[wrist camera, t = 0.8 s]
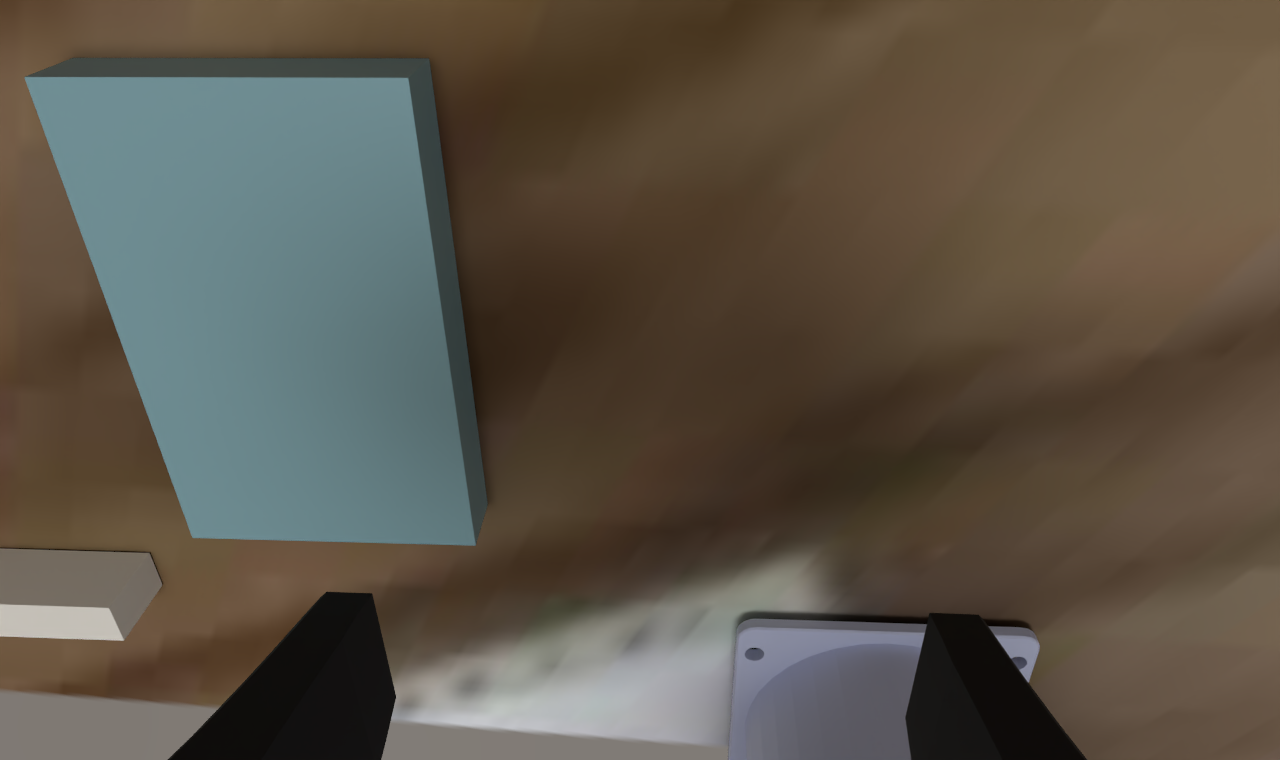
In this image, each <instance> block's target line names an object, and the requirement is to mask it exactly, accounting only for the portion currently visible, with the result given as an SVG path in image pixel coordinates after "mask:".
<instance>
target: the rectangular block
mask: <svg viewBox="0 0 1280 760" xmlns="http://www.w3.org/2000/svg"><path fill="white" fill-rule="evenodd" d="M25 80H26V83H27V86H28V88H29V91H30V94H31V97H32V99H33V102H34V105H35V108H36V110H37V113H38V116H39V119H40V121H41V124H42V127H43V129H44V132H45V135H46V138H47V140H48V143H49V146H50V149H51V151H52V154H53V157H54V160H55V162H56V165H57V168H58V171H59V173H60V176H61V179H62V182H63V184H64V187H65V190H66V192H67V195H68V198H69V201H70V203H71V206H72V209H73V212H74V214H75V217H76V220H77V223H78V225H79V228H80V231H81V234H82V236H83V239H84V242H85V245H86V247H87V250H88V253H89V255H90V258H91V261H92V264H93V266H94V269H95V272H96V275H97V277H98V280H99V283H100V286H101V288H102V291H103V294H104V297H105V299H106V302H107V305H108V308H109V310H110V313H111V316H112V318H113V321H114V324H115V327H116V329H117V332H118V335H119V338H120V340H121V343H122V346H123V349H124V351H125V354H126V357H127V360H128V362H129V365H130V368H131V371H132V373H133V376H134V379H135V381H136V384H137V387H138V390H139V392H140V395H141V398H142V401H143V403H144V406H145V409H146V412H147V414H148V417H149V420H150V423H151V425H152V428H153V431H154V434H155V436H156V439H157V442H158V445H159V447H160V450H161V453H162V455H163V458H164V461H165V464H166V466H167V469H168V472H169V475H170V477H171V480H172V483H173V486H174V488H175V491H176V494H177V497H178V499H179V502H180V505H181V508H182V510H183V513H184V516H185V518H186V521H187V524H188V527H189V529H190V532H191V535H192V538H217V539H254V540H291V541H327V542H364V543H401V544H437V545H474V546H476V542H477V539H478V536H479V532H480V529H481V526H482V522H483V519H484V515H485V512H486V509H487V505H488V502H487V495H486V487H485V480H484V472H483V464H482V457H481V449H480V441H479V434H478V426H477V419H476V411H475V403H474V396H473V388H472V381H471V373H470V365H469V358H468V350H467V342H466V335H465V327H464V320H463V312H462V304H461V297H460V289H459V282H458V274H457V266H456V259H455V251H454V244H453V236H452V228H451V221H450V213H449V205H448V198H447V190H446V183H445V175H444V167H443V160H442V152H441V145H440V137H439V129H438V122H437V114H436V106H435V99H434V91H433V84H432V76H431V68H430V61H429V58H72V59H69V60H66V61H64V62H61V63H59V64H56V65H54V66H51V67H49V68H46V69H44V70H41V71H39V72H36V73H33V74H31V75H28V76H26V77H25Z"/></svg>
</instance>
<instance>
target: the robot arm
mask: <svg viewBox="0 0 1280 760" xmlns="http://www.w3.org/2000/svg"><path fill="white" fill-rule="evenodd" d="M749 648H759V649H749ZM1039 650H1040V644H1039V642H1038V640H1037V637H1036V635H1035V634H1034V632H1033V631H1031V630H1029V629H1027V628H1021V627H996V626H988V625H987V624H986V622H985V621H984V620H983V619H982V618H981V617H980V616H979V615H969V614H941V613H929V617H928V622H927V624H905V623H875V622H844V621H814V620H783V619H749V620H746V621H744V622H742V623H741V624H740V625H739V626H738V628H737V631H736V645H735V660H734V675H733V690H732V705H731V720H730V735H729V750H728V760H1087V759H1086V758H1085V757H1084V755H1083V754H1082V753H1081V751H1080V750H1079V749H1078V748H1077V746H1076V745H1075V744H1074V743H1073V741H1072V740H1071V739H1070V738H1069V736H1068V735H1067V734H1066V733H1065V731H1064V730H1063V729H1062V727H1061V726H1060V725H1059V723H1058V722H1057V721H1056V719H1055V718H1054V717H1053V715H1052V714H1051V713H1050V712H1049V710H1048V709H1047V707H1046V706H1045V705H1044V703H1043V702H1042V701H1041V699H1040V698H1039V697H1038V695H1037V694H1036V693H1035V691H1034V690H1033V689H1032V687H1031V686H1030V684H1029V680H1030V677H1031V674H1032V671H1033V668H1034V665H1035V662H1036V659H1037V656H1038V653H1039ZM1013 657H1016V658H1013ZM395 699H396V695H395V690H394V686H393V682H392V677H391V673H390V669H389V664H388V660H387V656H386V651H385V647H384V643H383V638H382V634H381V630H380V625H379V621H378V617H377V613H376V608H375V604H374V600H373V595H372V593H343V592H326V593H325V594H324V595H323V596H322V597H320V598H319V600H318V601H317V602H316V603H315V604H314V605H313V606H312V607H311V608H310V609H309V611H308V612H307V613H306V614H305V615H304V616H303V617H302V618H301V620H300V621H299V622H298V623H297V624H296V625H295V626H294V627H293V628H292V630H291V631H290V632H289V633H288V634H287V635H286V636H285V637H284V639H283V640H282V641H281V642H280V643H279V644H278V645H277V646H276V647H275V649H274V650H273V651H272V652H271V653H270V654H269V655H268V656H267V657H266V658H265V660H264V661H263V662H262V663H261V664H260V665H259V666H258V667H257V668H256V669H255V670H254V672H253V673H252V674H251V675H250V676H249V677H248V678H247V679H246V680H245V681H244V682H243V683H242V684H241V686H240V687H239V688H238V689H237V690H236V691H235V692H234V693H233V694H232V695H231V696H230V697H229V698H228V699H227V700H226V701H225V702H224V703H223V704H222V705H221V707H220V708H219V709H218V710H217V711H216V712H215V713H214V714H213V715H212V716H211V717H210V718H209V719H208V720H207V721H206V722H205V723H204V724H203V726H202V727H201V728H200V729H199V730H198V731H197V732H196V733H195V734H194V735H193V736H192V737H191V738H190V739H189V740H188V741H187V742H186V743H185V744H184V745H183V746H181V747H180V749H178V750H177V751H176V752H175V753H174V754H173V755H172V756H171V757H170V758H169V759H168V760H381V758H382V754H383V750H384V746H385V742H386V738H387V734H388V729H389V725H390V721H391V716H392V712H393V708H394V703H395Z"/></svg>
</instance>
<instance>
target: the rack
mask: <svg viewBox="0 0 1280 760" xmlns="http://www.w3.org/2000/svg"><path fill="white" fill-rule="evenodd" d="M161 586H162V582H161V580H160V578H159V575H158V573H157V570H156V568H155V565H154V563H153V560H152V558H151V555H150V553H134V552H101V551H67V550H34V549H1V548H0V636H8V637H36V638H64V639H93V640H121V641H124V640H125V639H126V637H127V636H128V634H129V633H130V631H131V630H132V628H133V627H134V625H135V624H136V623H137V621H138V620H139V618H140V617H141V615H142V614H143V612H144V611H145V609H146V608H147V607H148V605H149V604H150V602H151V601H152V599H153V598H154V596H155V595H156V594H157V592H158V591H159V589H160V588H161Z"/></svg>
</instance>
